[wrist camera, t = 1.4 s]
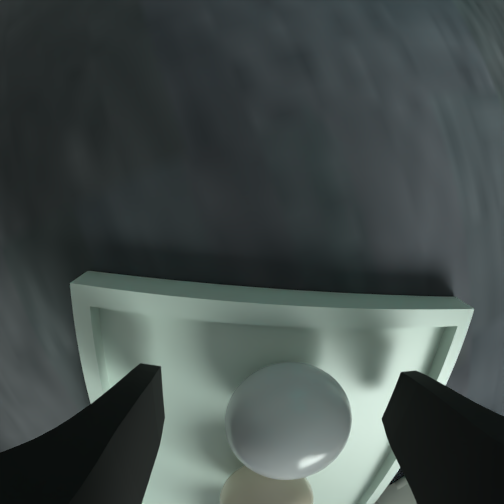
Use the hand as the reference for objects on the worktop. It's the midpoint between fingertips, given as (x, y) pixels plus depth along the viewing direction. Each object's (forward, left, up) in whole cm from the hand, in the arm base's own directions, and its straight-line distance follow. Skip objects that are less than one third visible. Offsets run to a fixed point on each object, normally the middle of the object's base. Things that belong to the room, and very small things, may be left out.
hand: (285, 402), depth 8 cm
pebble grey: (0, 0, -1) cm, 1 cm away
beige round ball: (0, -5, -1) cm, 5 cm away
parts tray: (0, -5, -2) cm, 5 cm away
